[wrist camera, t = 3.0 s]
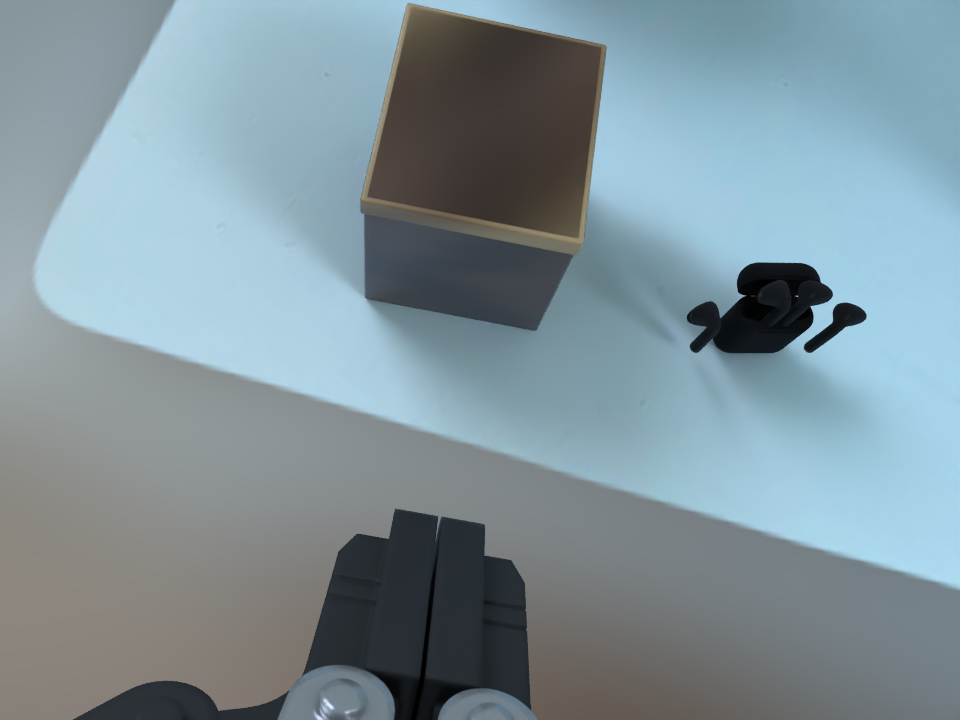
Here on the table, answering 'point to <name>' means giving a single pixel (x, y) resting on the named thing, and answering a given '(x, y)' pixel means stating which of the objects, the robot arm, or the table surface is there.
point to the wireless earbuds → (771, 311)
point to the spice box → (480, 167)
